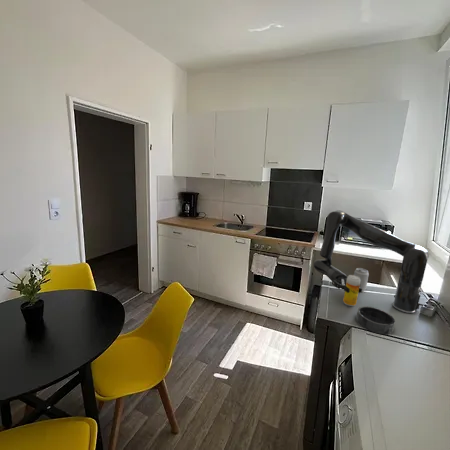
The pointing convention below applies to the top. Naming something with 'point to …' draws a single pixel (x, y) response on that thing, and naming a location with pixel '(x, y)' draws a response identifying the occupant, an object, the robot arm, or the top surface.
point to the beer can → (352, 290)
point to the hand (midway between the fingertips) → (355, 291)
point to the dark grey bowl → (375, 320)
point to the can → (362, 277)
